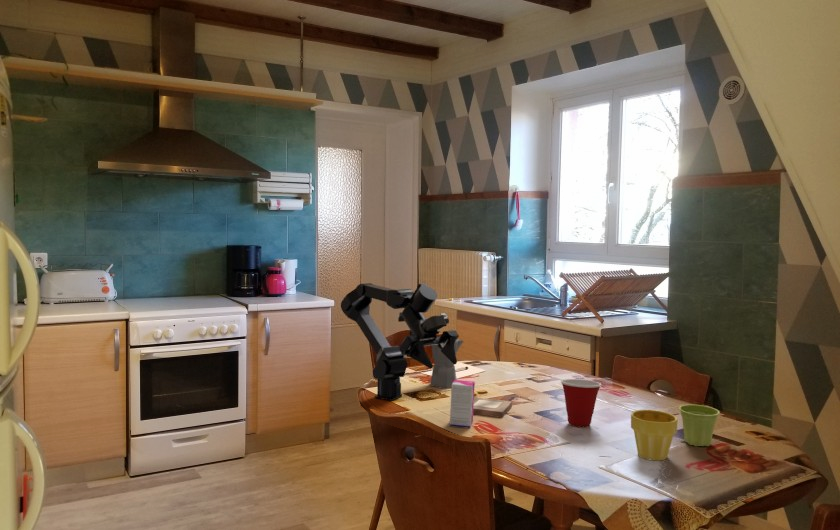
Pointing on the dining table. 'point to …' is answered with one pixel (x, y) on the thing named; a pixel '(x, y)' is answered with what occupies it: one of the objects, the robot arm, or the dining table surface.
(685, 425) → the plant pot
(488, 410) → the base board
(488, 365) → the dining table surface
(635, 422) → the plant pot
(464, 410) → the supplement box
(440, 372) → the coffeepot
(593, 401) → the plastic cup
